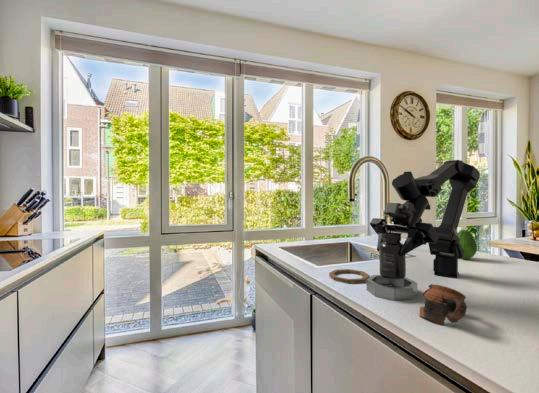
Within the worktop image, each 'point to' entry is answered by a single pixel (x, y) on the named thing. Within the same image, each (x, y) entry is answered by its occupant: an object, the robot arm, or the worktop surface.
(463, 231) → the avocado
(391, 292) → the hub socket
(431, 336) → the worktop surface
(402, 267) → the supplement bottle
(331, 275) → the walnut ring
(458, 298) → the pottery mug
